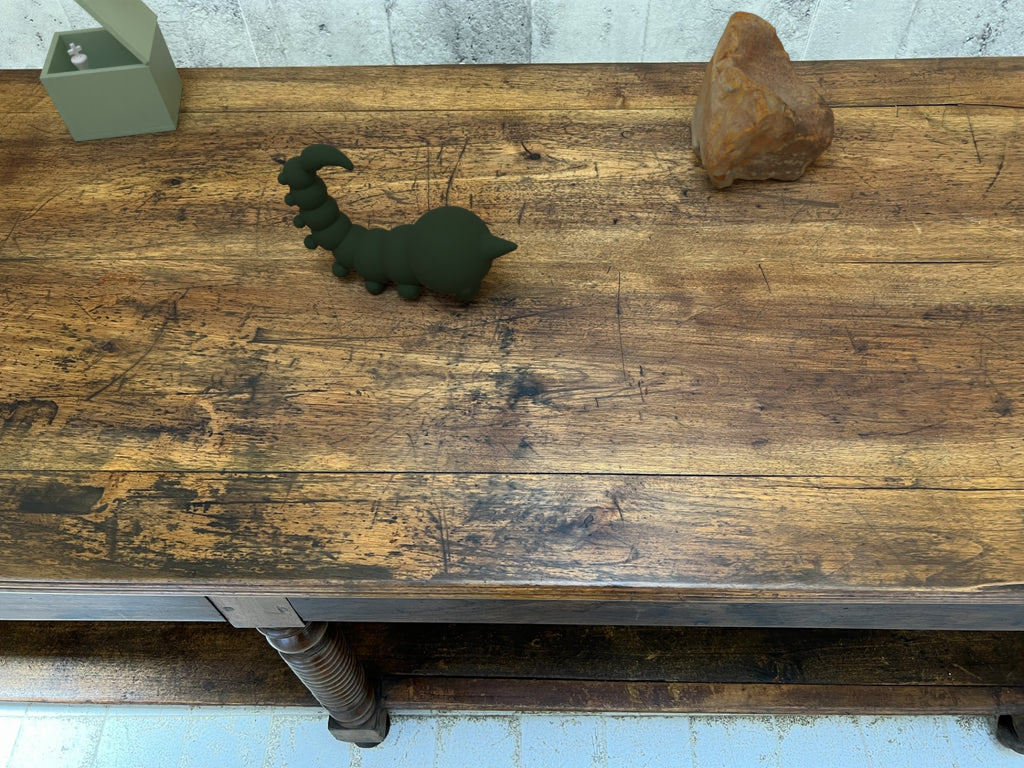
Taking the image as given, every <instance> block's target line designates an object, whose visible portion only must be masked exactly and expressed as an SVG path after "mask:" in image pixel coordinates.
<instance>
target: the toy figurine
mask: <svg viewBox="0 0 1024 768" xmlns="http://www.w3.org/2000/svg"><path fill="white" fill-rule="evenodd" d="M282 166H283V167H282V172H279V173H278V175H277V178H276V179H277V182H278V184H280V185H281V186H288V187H289V191H288V193H286V194H285V195H284V199H283V201H284V203H285V205H287V206H288V207H290V208H291V207H294V206H297V208H299V209H298V211H299V214H296V215H295V216H294V217H293V219H292V224H293V227H294V228H296V229H300V230H302V229H304V228H305V227H307V228H308V229H309V230H310V234H307V235H306V236H305V237H304V239H303V245H304V247H305V248H306V249H307V250H309V251H316V250H317V249H318V248H319V247H320V248H321V249H322V250H324V251H328V252H330V253H331V254H332V257H333V258H334V260H335V261H334V262H333V264H332V265H331V271H332V275H333V276H334V277H335V278H337V279H343V278H347V277H348V276H349V275H350V273H351V270H354V271H356V273H357V274H358V275H359V276H360V277H361V278H363V280H365V282H364V288H365V289H366V291H368V293H370V294H378V293H380V292H381V291H382V289H383V288H384V283H388V282H391V281H392V282H393V283H394V284H397V285H396V287H397V292H398V296H400V297H402V298H403V299H405V300H407V301H409V300H414V299H415V298H418V297H419V295H420V293H421V285H423V286H424V287H426V288H427V289H429V290H430V291H434V292H436V293H439V294H443V295H454V296H455V297H456V299H458V300H460V301H463V302H468V301H472V300H473V299H475V298H476V297H477V296H478V294H479V292H480V290H481V287H482V283H483V281H484V280H485V278H486V277H487V276H488V274H489V273H490V271H491V268H492V266H493V262H494V260H496V259H499V258H501V257H503V256H506V255H507V254H510V253H512V252H514V251H516V250H518V248H519V245H518V244H517V243H516V242H514V241H511V240H508V239H505V238H502V237H500V236H496V235H494V234H492V231H491V230H490V228H489V226H488V225H487V224H486V223H485V221H484V220H483V219H482V218H481V217H480V216H479V215H477V214H476V213H474V212H472V211H471V210H469V209H468V208H465V207H462V206H459V205H442V206H439V207H435V208H432V209H430V210H428V211H426V212H425V213H423V214H422V215H421V216H420V217H419V218H417V220H416V221H415V222H414V223H406V224H398V225H395V226H393V227H392V228H391V229H386V228H384V227H371V228H367V227H366V226H364V225H362V224H358V223H353V222H352V220H351V219H350V217H349V216H348V214H346V213H345V212H343V211H342V210H340V208H339V203H338V202H337V200H336V199H335V197H333V196H332V195H330V194H329V193H328V185H327V184H326V182H325V181H324V179H323V178H322V177H321V176H319V175H318V173H317V172H318V171H321V170H322V169H323V168H324V167H339V168H343V169H344V170H346V171H349V172H352V171H354V169H355V165H354V163H353V161H352V160H351V159H350V158H349V156H347V155H346V154H345V153H344V152H343V151H342V150H340V149H338V148H336V147H335V146H333V145H329V144H325V143H316V144H311V145H308V146H306V147H304V148H303V149H302V150H301V152H300V154H299V155H297V156H293V157H290V158H288V159H287V160H286V161H285V162H284V164H283V165H282Z"/></svg>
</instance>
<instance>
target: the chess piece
mask: <svg viewBox="0 0 1024 768" xmlns="http://www.w3.org/2000/svg"><path fill="white" fill-rule="evenodd" d="M69 45H70V47H71V50H69V51H68V53H69V55H72V54H74V56H73V57H72V58H71V62H72V63H73V64H74V65H75V66H76V67H77V68H78V69H79V70H80V71H81V70H90V69H89V67H88V59H87V56H86V55H84V54H79V53H78V51H80V50H82V48H81V46H77V47H75V45H74V44H73V43H71V44H69Z"/></svg>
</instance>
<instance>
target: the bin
mask: <svg viewBox="0 0 1024 768" xmlns="http://www.w3.org/2000/svg"><path fill="white" fill-rule="evenodd" d="M71 43H73V44H74V45H75V47H77V46H81V48H82V50H80V51H78V53H79V54H84V55H86V56H87V59H88V67H89V69H90V70H81V71H80V70H79V69H78V68H77V67H76V66H75V65H74V64H73V63H72V62H71V58H72V57H73V56H74V54H72V55H69V53H68V51H69V50H71V47H70V45H69V44H71ZM39 80H40V82H41V83H42V85H43V87H44V89H45V91H46V92H47V94H48V96H49V98H50V100H51V102H52V103H53V105H54V106H55V109H56V110H57V112H58V114H59V115H60V117H61V119H62V121H63V123H64V125H65V126H66V128H67V130H68V132H69V133H70V136H71V137H72V138H73V140H74V142H77V143H78V142H86V141H93V140H102V139H103V140H104V139H111V138H120V137H128V136H129V137H130V136H138V135H145V134H155V133H164V132H172V131H177V127H178V120H179V114H180V108H181V99H182V94H183V86H184V84H183V82H182V78H181V77H180V74H179V71H178V69H177V66H176V65H175V61H174V59H173V57H172V55H171V52H170V49H169V47H168V44H167V42H166V40H165V37H164V35H163V32H162V29H161V27H160V25H159V22H158V21H157V23H156V28H155V34H154V39H153V44H152V49H151V54H150V59H149V62H148V63H146V64H143V63H142V62H141V61H140V60H139V59H138V58H137V57H136V56H135V55H134V54H132V53H131V52H130V51H129V50H128V49H127V48H126V47H125V46H124V45H123V44H121V43H120V42H119V41H118V40H117V39H116V38H115V37H114V36H113V35H112V34H110V33H109V32H108V31H107V30H106V29H105V28H104V27H103V26H101V27H91V28H90V27H89V28H82V29H81V28H80V29H72V30H71V29H70V30H63V31H55V32H53V36H52V38H51V41H50V45H49V48H48V51H47V54H46V57H45V59H44V63H43V66H42V69H41V73H40V75H39Z"/></svg>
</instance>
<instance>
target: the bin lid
mask: <svg viewBox="0 0 1024 768" xmlns="http://www.w3.org/2000/svg"><path fill="white" fill-rule="evenodd" d="M73 1H75V3H76V4H77V5H79V7H80V8H82V9H83V10H84V11H85V12H86V13H87V14H88V15H90V16H91V18H93V20H95V21H96V22H97V23H98V24H99V25H100V26H101V27H104V28H105V29H106V30H107V31H108V32H109V33H110V34H112V35H113V36H114V37H115V38H116V39H117V40H118V41H119V42H120V43H121V44H123V45H124V46H125V47H126V48H127V49H128V50H129V51H130V52H131V53H132V54H134V55H135V56H136V57H137V58H138V59H139V60H140V61H141V62H142V63H143V64H146V63H148V62H149V59H150V54H151V49H152V44H153V39H154V34H155V28H156V23H157V22H158V19H159V17H158V14H156V13H155V12H154V11H153V10H152V9H151V8H150V7H149V6H148V5H147V4H146V3H145V2H144V1H143V0H73Z"/></svg>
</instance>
